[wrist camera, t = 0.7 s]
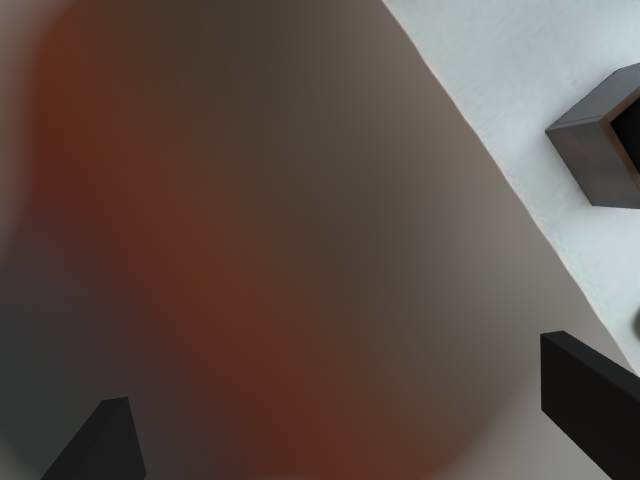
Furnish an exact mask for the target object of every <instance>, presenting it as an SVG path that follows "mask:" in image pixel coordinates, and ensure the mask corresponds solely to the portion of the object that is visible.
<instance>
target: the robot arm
mask: <svg viewBox="0 0 640 480" xmlns="http://www.w3.org/2000/svg"><path fill="white" fill-rule="evenodd" d="M540 342H541V409H542V411H543V412H544V413H545V414H546V415H547V416H548V417H549V418H550V419H551V420H552V421H553V422H554V423H555V424H556V425H557V426H558V427H559V428H560V429H561V430H562V431H563V432H564V433H565V434H567V436H568V437H569V438H571V440H573V442H575V444H576V445H578V446H579V447H580V448H581V449H582V450H583V451H584V452H585V453H586V454H587V455H588V456H589V457H590V458H591V459H592V460H593V461H594V462H595V463H596V464H597V465H598V466H599V467H600V468H601V469H602V470H603V471H604V472H605V473H606V474H607V475H608V476H609V477H610V478H611V479H612V480H640V378H639V377H638V376H636V375H634V374H633V373H631V372H629V371H628V370H626V369H625V368H623V367H621V366H620V365H618V364H617V363H615V362H613V361H612V360H610V359H608V358H607V357H605V356H604V355H602V354H600V353H599V352H597V351H596V350H594V349H592V348H591V347H589V346H587V345H586V344H584V343H583V342H581V341H579V340H578V339H576V338H575V337H573V336H571V335H570V334H568V333H566V332H565V331H556V332H550V333H543V334H540ZM145 476H146V470H145V466H144V462H143V458H142V455H141V450H140V446H139V442H138V438H137V434H136V429H135V426H134V421H133V417H132V413H131V409H130V405H129V401H128V397H123V398H117V399H110V400H103V401H101V403H100V404H99V405H98V407H97V408H96V409H95V410H94V412H93V413H92V414H91V416H90V417H89V418H88V419H87V421H86V422H85V423H84V424H83V426H82V427H81V428H80V430H79V431H78V432H77V433H76V435H75V436H74V437H73V439H72V440H71V441H70V443H69V444H68V445H67V446H66V448H65V449H64V450H63V451H62V453H61V454H60V455H59V457H58V458H57V459H56V460H55V462H54V463H53V464H52V466H51V467H50V468H49V470H48V471H47V472H46V473H45V475H44V476H43V477H42V478H41V480H144V478H145Z"/></svg>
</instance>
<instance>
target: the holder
mask: <svg viewBox="0 0 640 480" xmlns="http://www.w3.org/2000/svg"><path fill="white" fill-rule="evenodd" d="M639 97H640V63H637V64H633V65H630V66H627V67H624V68H621V69H618V70H617V71H615V72H614V73H613V74H612V75H611V76H609V77H608V78H607V79H606V80H605V81H604V82H602V83H601V84H600V85H599V86H598V87H596V88H595V89H594V90H593V91H592V92H590V93H589V94H588V95H587V96H586V97H585V98H583V99H582V100H581V101H580V102H579V103H577V104H576V105H575V106H574V107H573V108H571V109H570V110H569V111H568V112H567V113H565V114H564V115H563V116H562V117H561V118H560V119H558V120H557V121H556V122H555V123H554V124H552V125H551V126H550V127H549V128H548V129H547V130H545V132H546V133H547V135H548V136H549V138H550V140H551V141H552V143H553V144H554V146H555V147H556V149H557V151H558V152H559V154H560V155H561V157H562V159H563V160H564V162H565V163H566V165H567V166H568V168H569V170H570V171H571V173H572V174H573V176H574V178H575V179H576V181H577V182H578V184H579V185H580V187H581V189H582V190H583V192H584V193H585V195H586V196H587V198H588V200H589V201H590V203H591V204H592V206H602V207H616V208H631V209H640V174H639V172H638V171H637V169H636V167H635V166H634V164H633V162H632V160H631V159H630V157H629V155H628V154H627V152H626V150H625V149H624V147H623V145H622V144H621V142H620V140H619V138H618V137H617V135H616V133H615V132H614V130H613V128H612V127H611V125H610V122H611V121H612V120H613V119H615V118H616V117H617V116H618V115H619V114H620V113H622V112H623V111H624V110H625V109H626V108H628V107H629V106H630V105H631V104H632V103H633V102H635V101H636V100H637V99H638V98H639Z"/></svg>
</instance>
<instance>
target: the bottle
mask: <svg viewBox="0 0 640 480" xmlns="http://www.w3.org/2000/svg"><path fill="white" fill-rule="evenodd" d="M610 125H611V127H612V128H613V130H614V132H615V133H616V135H617V137H618V138H619V140H620V142H621V144H622V145H623V147H624V149H625V150H626V152H627V154H628V155H629V157H630V159H631V160H632V162H633V164H634V166H635V167H636V169H637V171H638V172H639V174H640V97H639V98H638V99H637V100H636V101H635V102H633V103H632V104H631V105H630V106H629V107H628V108H626V109H625V110H624V111H623V112H622V113H620V114H619V115H618V116H617V117H616V118H615V119H613V120H612V121H611V122H610Z"/></svg>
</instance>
